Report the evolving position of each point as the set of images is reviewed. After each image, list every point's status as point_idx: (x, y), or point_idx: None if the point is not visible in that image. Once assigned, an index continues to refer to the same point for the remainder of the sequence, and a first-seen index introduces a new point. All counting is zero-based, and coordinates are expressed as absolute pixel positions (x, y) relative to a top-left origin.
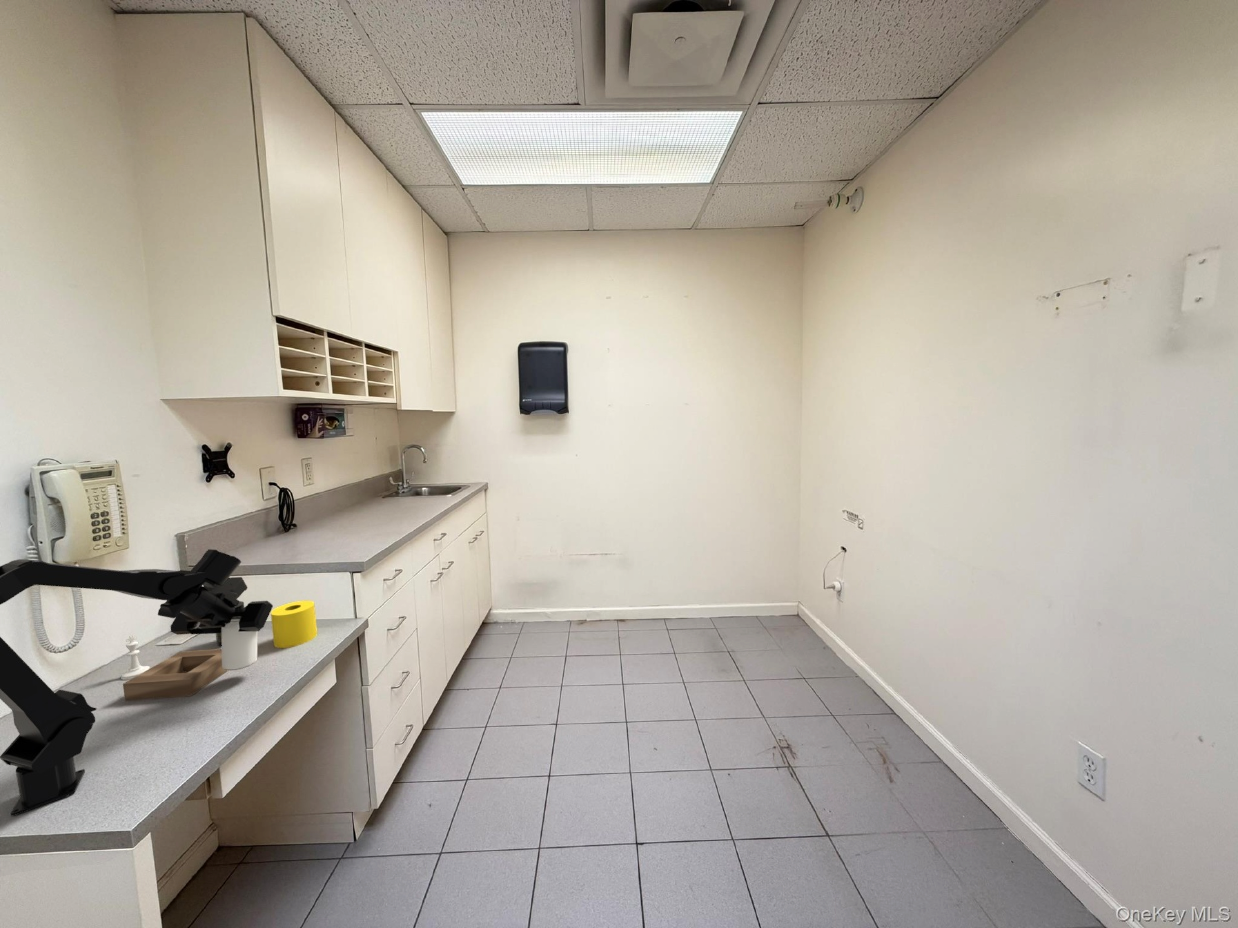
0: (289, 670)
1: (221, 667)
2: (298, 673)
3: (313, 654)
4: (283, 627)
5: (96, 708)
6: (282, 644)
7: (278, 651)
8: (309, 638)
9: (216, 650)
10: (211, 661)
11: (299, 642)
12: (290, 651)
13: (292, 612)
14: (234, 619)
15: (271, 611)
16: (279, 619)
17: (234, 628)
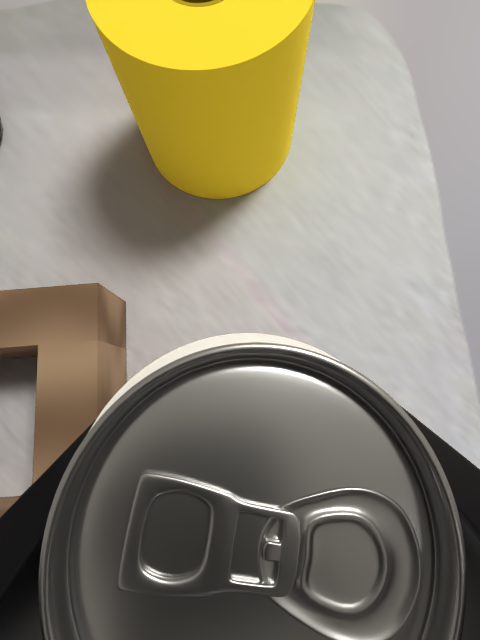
0: (392, 374)
1: (114, 390)
2: (452, 400)
3: (395, 255)
4: (222, 134)
5: None
6: (217, 190)
7: (222, 225)
8: (290, 141)
9: (7, 303)
10: (68, 412)
11: (272, 171)
12: (274, 228)
13: (256, 35)
14: (236, 629)
15: (93, 17)
16: (197, 95)
17: None
